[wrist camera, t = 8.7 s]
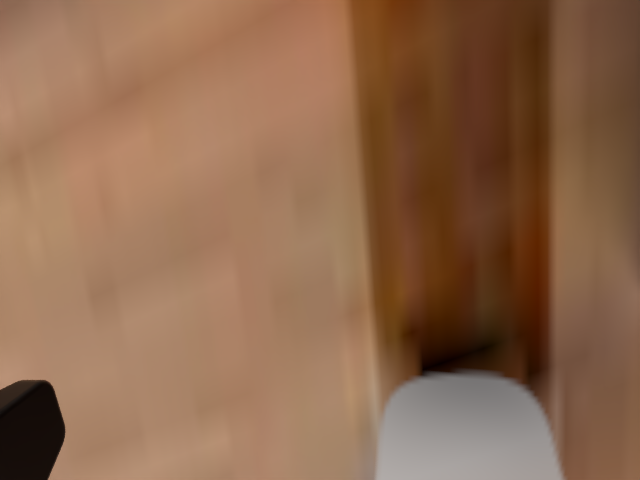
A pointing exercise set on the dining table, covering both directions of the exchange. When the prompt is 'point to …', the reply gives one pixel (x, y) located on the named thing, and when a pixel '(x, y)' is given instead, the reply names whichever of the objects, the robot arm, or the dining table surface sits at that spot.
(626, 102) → the dining table surface
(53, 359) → the dining table surface
